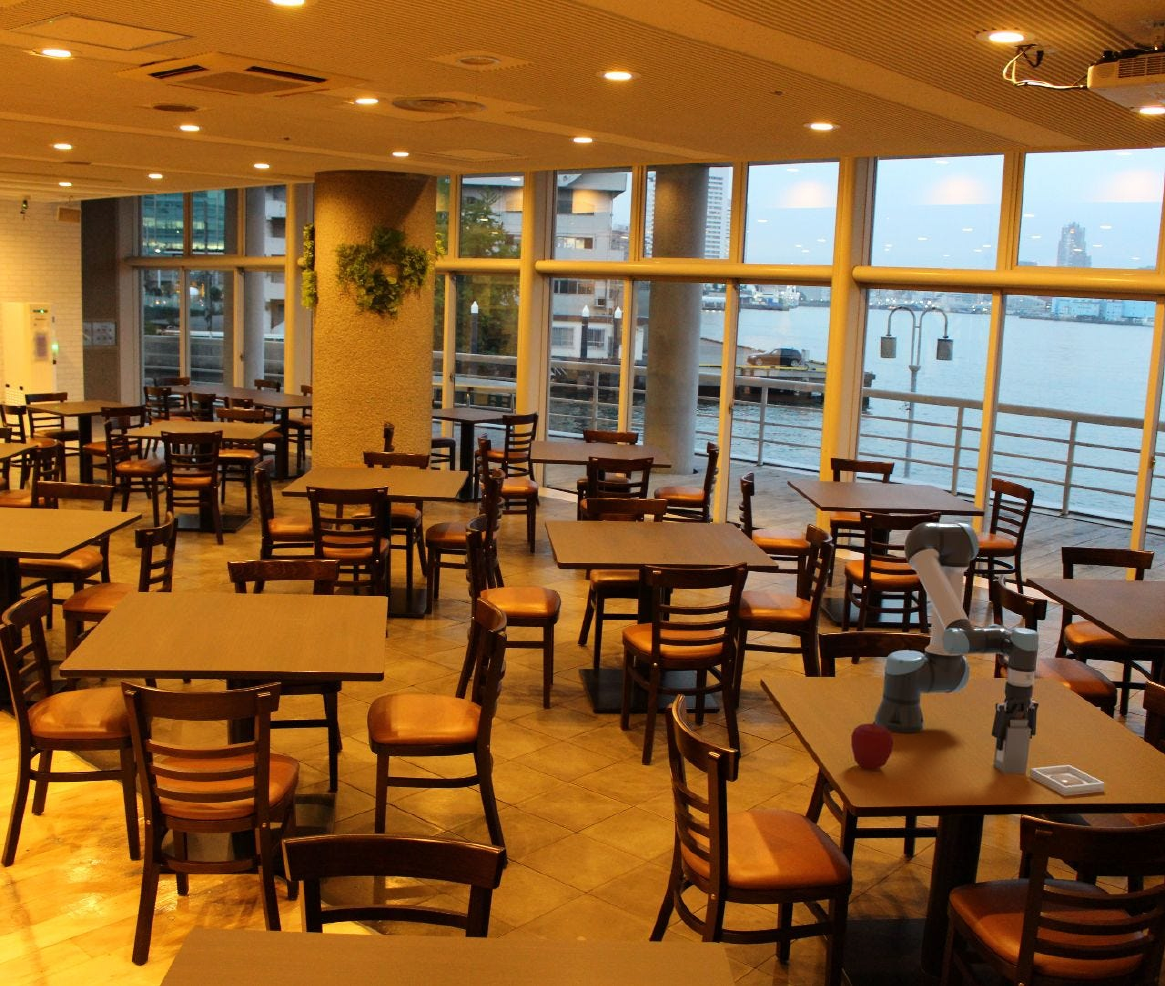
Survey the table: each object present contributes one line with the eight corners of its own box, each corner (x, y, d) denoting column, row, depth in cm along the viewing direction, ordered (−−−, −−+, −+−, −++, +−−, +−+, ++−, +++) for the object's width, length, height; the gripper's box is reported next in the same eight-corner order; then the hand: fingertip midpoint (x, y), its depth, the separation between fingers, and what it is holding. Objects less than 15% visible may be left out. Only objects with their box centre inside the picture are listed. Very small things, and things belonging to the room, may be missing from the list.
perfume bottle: (993, 764, 361) (1000, 705, 358) (1015, 765, 361) (1022, 706, 359) (1003, 773, 354) (1010, 713, 351) (1025, 774, 355) (1033, 714, 352)
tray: (1064, 795, 340) (1065, 787, 340) (1029, 776, 353) (1030, 768, 353) (1104, 791, 345) (1105, 783, 345) (1068, 772, 358) (1069, 764, 358)
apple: (882, 779, 344) (887, 733, 342) (842, 769, 350) (846, 723, 348) (896, 767, 354) (900, 722, 352) (857, 757, 360) (861, 713, 358)
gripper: (1000, 688, 347) (991, 767, 350) (1055, 685, 354) (1046, 761, 357) (983, 680, 354) (974, 757, 357) (1037, 677, 361) (1028, 752, 364)
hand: (1010, 759), depth 357 cm, fingers closed on perfume bottle, 6 cm apart
